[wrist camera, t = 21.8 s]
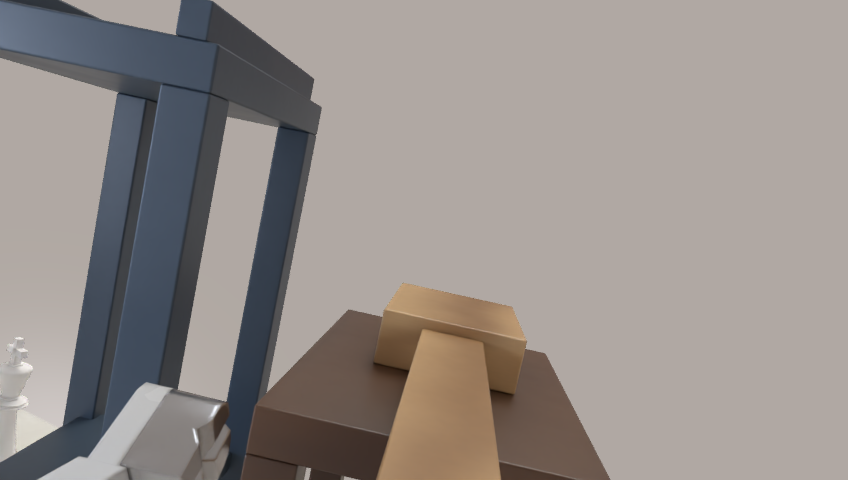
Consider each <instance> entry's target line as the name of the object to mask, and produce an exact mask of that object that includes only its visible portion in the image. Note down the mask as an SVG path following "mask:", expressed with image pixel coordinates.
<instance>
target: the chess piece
mask: <svg viewBox="0 0 848 480" xmlns="http://www.w3.org/2000/svg"><path fill="white" fill-rule="evenodd" d="M24 340H25V339H24V338H22V337H17V338H14V341H13V344H7V351H8V352H10V353H12V354H11V360H10V362H5V363H2V364H0V390H1V393H2V394H1V395H0V462H2V461H4V460H5V459H7V458H9V457H10V456H12V455H14V454H16V418H17V410H20V409H23V408H25V407H26V406H28V403H29V402H28V399H27V398H26V397H25V396H22V395H20V393H21V391H22V389H23V388H24V386H25V383H26V381H27V380H28V378H29V377H30V375H31V373H32V371H33V367H32V366H31V365H30V364H28V363H25V362H21V359H22V358H27V357H28V351H27V350H25V349H24V348H23V347H24Z"/></svg>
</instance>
